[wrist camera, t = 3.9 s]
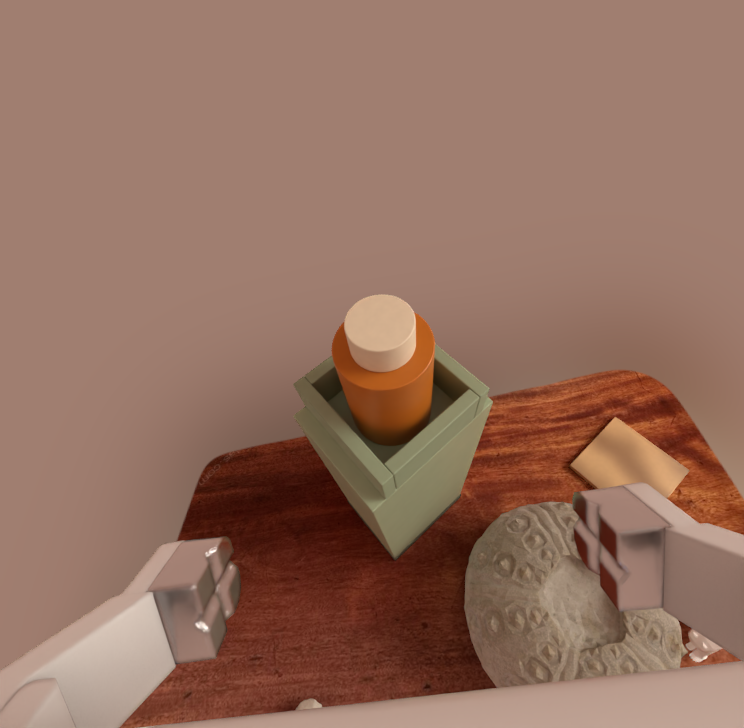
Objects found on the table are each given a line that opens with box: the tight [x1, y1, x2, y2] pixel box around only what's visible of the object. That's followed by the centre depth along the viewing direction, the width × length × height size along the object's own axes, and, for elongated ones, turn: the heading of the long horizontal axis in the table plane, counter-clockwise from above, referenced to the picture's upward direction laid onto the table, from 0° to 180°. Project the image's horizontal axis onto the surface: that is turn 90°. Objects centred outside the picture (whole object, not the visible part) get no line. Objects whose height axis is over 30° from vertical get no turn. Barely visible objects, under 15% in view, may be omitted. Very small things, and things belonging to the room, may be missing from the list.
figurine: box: [685, 629, 722, 662], centre depth 35 cm, size 2×8×5 cm, turn 110°
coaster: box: [569, 417, 689, 499], centre depth 45 cm, size 9×9×1 cm
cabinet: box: [294, 344, 493, 561], centre depth 35 cm, size 10×9×28 cm
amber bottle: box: [332, 295, 435, 446], centre depth 21 cm, size 5×5×9 cm
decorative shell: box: [464, 502, 688, 688], centre depth 35 cm, size 18×18×10 cm
